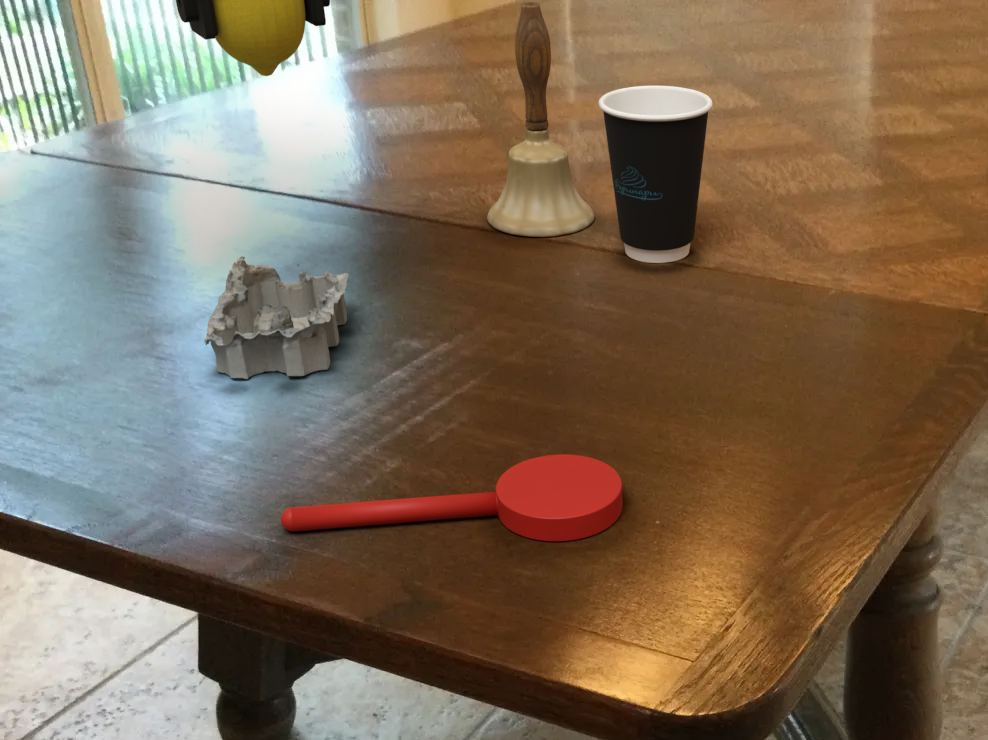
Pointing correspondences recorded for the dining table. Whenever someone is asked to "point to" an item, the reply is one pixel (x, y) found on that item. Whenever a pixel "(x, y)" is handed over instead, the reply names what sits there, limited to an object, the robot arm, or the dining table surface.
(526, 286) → the dining table surface
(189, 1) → the robot arm
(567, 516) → the red lollipop
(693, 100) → the dixie cup
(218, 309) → the egg carton
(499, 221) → the hand bell
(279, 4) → the lemon
